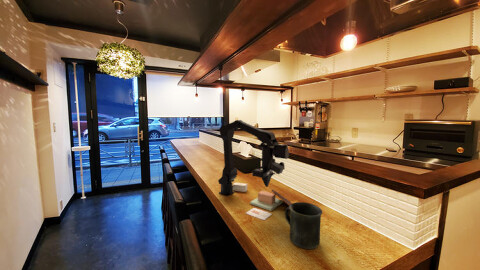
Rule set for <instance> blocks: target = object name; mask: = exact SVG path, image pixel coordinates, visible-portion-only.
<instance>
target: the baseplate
mask: <svg viewBox="0 0 480 270" xmlns="http://www.w3.org/2000/svg"><path fill="white" fill-rule="evenodd" d="M281 204H283V200H282V199H280V198H276V197H275V203H273V204H272V205H271V204H268V203H265V202H262V201H258V197H256V198H255V199H253V200H251V201H250V204H249V205H252V206H253V207H254V206H256V207H257V208H261V209H264V210H267V211H270V212H272V211H273V210H274V209H276V208H277V207H279V206H280V205H281Z"/></svg>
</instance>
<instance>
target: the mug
mask: <svg viewBox="0 0 480 270" xmlns="http://www.w3.org/2000/svg"><path fill="white" fill-rule="evenodd" d="M291 203H292V204H291V205H290V206H289V205H288V206H287V207H286V208H285V210H284V215H285V220H286V222H287V224H288V225H289V239H290V241H291V242H292V243H293V244H294V245H295V246H297V247H299V248H302V249H306V250H311V249H312V250H313V249H316V248H318V246H319V245H320V244H321V243H320V240H321V239H320V237H321V224H322V223H321V219H322V217H321V216H322V214H323V210H322V208H320V207H319V206H318V205H316V204H313V203H311V202H305V201H303V202H302V201H298V202H297V201H296V202H291Z"/></svg>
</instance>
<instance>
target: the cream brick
mask: <svg viewBox="0 0 480 270" xmlns="http://www.w3.org/2000/svg"><path fill="white" fill-rule="evenodd" d="M232 186H233V192H243V193H246V192H247V191H248V183H242V182H234V183H232Z"/></svg>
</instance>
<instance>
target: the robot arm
mask: <svg viewBox="0 0 480 270" xmlns="http://www.w3.org/2000/svg"><path fill="white" fill-rule="evenodd" d="M239 129H240V131H243V132H245V133H248V134H249V135H251V136H254V137H255V138H256V139H257V140H258V141H260V142H261V143H259V145H257V147H258V148H261V158H260V159H259V161H261V166H259V168H255V169H253V171H251V172H252V174H251V176H253V177H256V178H260V179H261V180H262V182H263V184H264V186H265V188H268V187H269V185H270V182H271V179H272V177H273V176H274V175H280V174H282V173H283V171H284V170H285V162H283V161H281V162H277V161H276V159H285V160H287V159H289V156H290V150H289V144H280V143H279V141H278V140H277V139H276V135H275V133H274V132H273V131H270V130H267V129H265V130H264V129H260V128H258V127H256V126H253V125H251V124H250V123H247V122H245V121H243V120H241V119H236V120H234V121H231V122H230V123H226V124H222V125H220V127H219V134H220V137H221V139H222V142H223V144H222V145H223V158H224V160H223V161H224V165H223V169H222V173H221V174H222V175H221V177H219V179H218V180H217V182H218V184H219V185H220V191H218V194H220V195H222V196H226V197H228V196H230V195H232V194H234V193H235V191H233V182H235V179H236V178H237V175H238V167H235V166H234V159H233V158H234V157H233V155H234V154H233V138H234V136H235V131H238V130H239ZM275 158H276V159H275Z"/></svg>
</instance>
